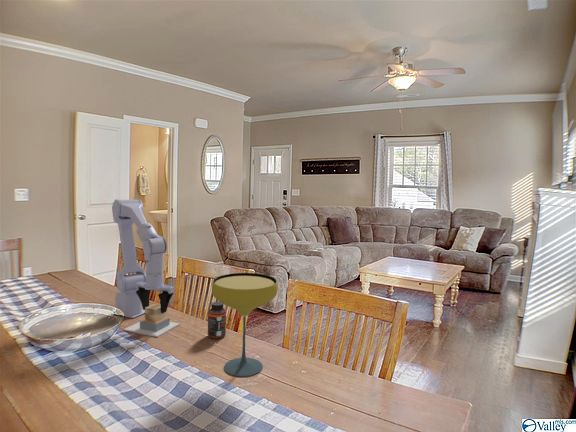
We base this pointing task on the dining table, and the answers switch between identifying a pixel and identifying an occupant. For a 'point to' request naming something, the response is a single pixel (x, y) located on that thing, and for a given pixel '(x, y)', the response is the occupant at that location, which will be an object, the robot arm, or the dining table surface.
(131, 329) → the base
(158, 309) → the maple block
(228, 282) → the cocktail glass
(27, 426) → the dining table surface
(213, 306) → the supplement bottle
